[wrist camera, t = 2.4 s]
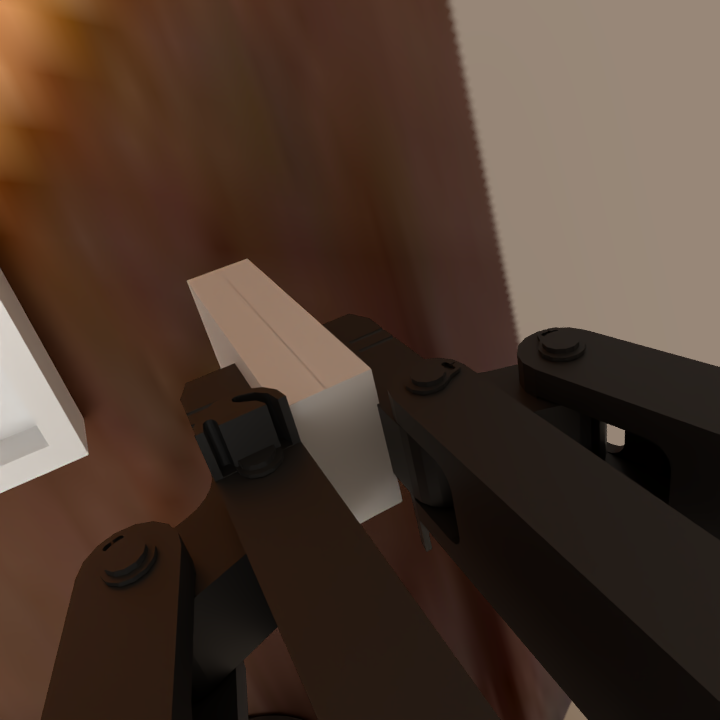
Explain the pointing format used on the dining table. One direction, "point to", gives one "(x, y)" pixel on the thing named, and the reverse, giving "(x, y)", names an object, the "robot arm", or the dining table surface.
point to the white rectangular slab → (32, 402)
